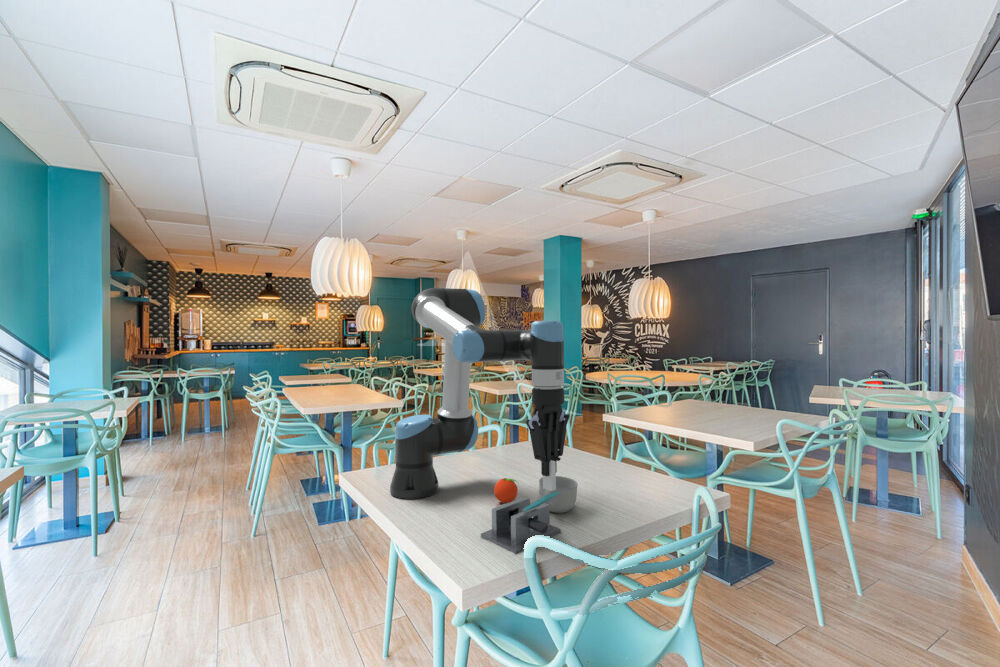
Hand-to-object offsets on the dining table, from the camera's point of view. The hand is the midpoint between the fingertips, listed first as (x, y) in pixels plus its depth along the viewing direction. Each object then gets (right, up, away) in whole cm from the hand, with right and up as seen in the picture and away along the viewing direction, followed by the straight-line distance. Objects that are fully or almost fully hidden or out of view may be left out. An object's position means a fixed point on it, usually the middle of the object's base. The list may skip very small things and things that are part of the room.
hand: (549, 488), depth 106 cm
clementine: (-9, -14, +29) cm, 33 cm away
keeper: (-2, -4, +2) cm, 5 cm away
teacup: (+4, -14, +22) cm, 26 cm away
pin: (-5, -12, +6) cm, 14 cm away
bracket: (-6, -14, +7) cm, 16 cm away
